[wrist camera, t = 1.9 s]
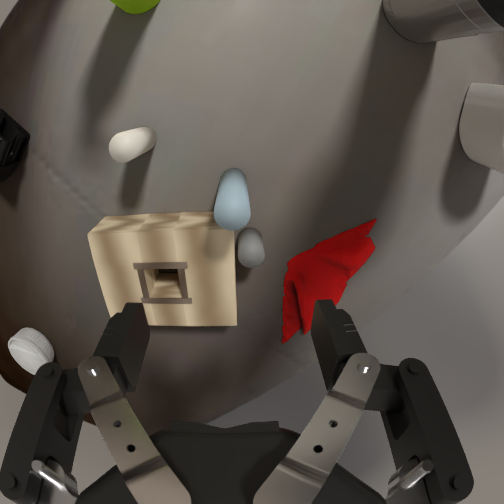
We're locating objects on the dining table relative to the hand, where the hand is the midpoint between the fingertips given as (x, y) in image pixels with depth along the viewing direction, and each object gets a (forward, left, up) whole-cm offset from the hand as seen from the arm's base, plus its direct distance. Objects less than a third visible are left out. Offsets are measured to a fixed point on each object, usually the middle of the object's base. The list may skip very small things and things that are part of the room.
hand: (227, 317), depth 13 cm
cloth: (-13, +16, -27) cm, 34 cm away
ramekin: (+44, +31, -26) cm, 60 cm away
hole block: (+9, +11, -26) cm, 29 cm away
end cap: (+35, -10, -26) cm, 45 cm away
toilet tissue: (-38, -11, -26) cm, 47 cm away
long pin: (0, 0, -26) cm, 26 cm away
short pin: (-2, +8, -26) cm, 27 cm away
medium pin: (+11, -6, -26) cm, 29 cm away
